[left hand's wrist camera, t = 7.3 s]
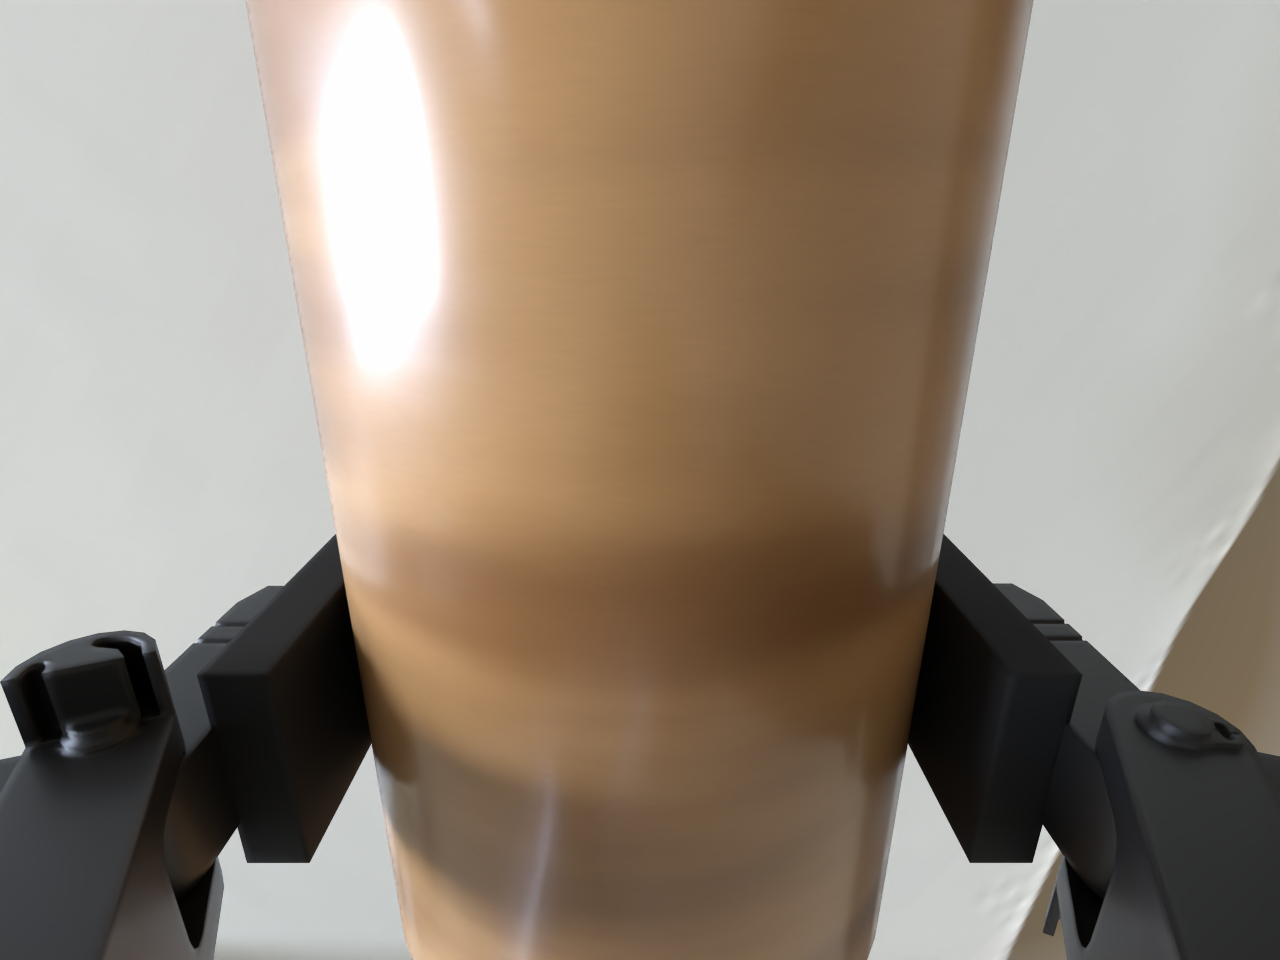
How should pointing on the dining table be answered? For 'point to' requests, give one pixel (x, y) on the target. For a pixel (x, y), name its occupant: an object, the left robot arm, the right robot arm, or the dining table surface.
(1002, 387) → the dining table surface
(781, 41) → the brown cylinder
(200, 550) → the dining table surface
